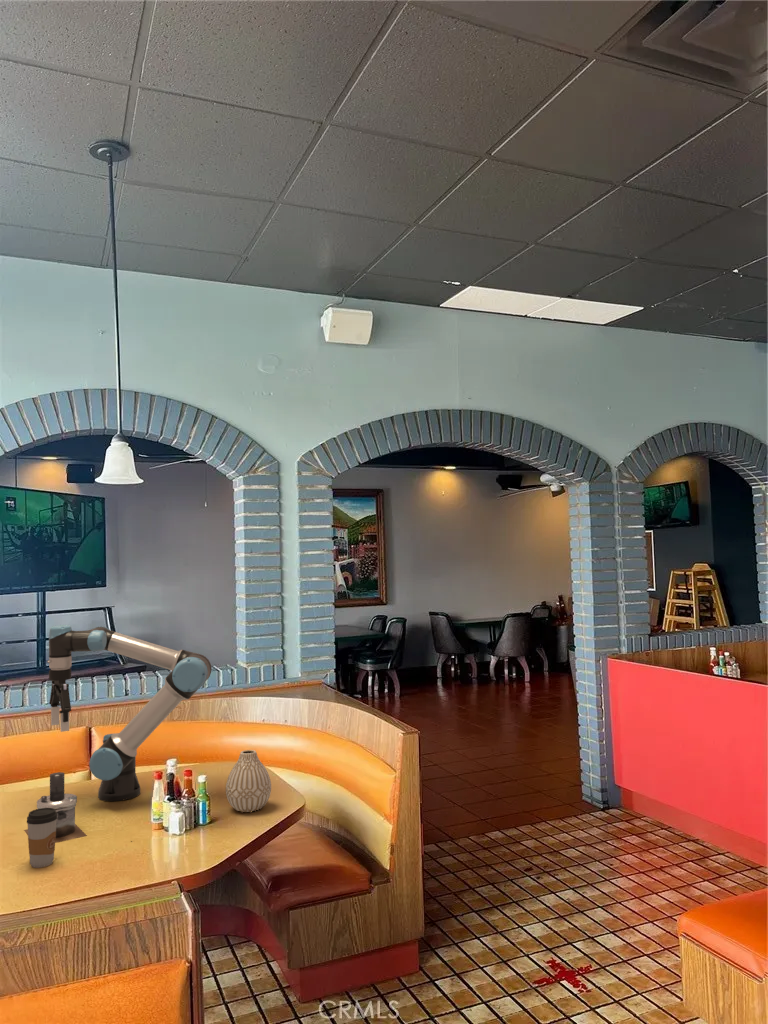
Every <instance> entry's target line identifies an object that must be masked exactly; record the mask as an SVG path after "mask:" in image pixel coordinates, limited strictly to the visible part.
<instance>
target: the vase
mask: <svg viewBox="0 0 768 1024" xmlns="http://www.w3.org/2000/svg"><path fill="white" fill-rule="evenodd" d="M239 753H240V754H239V756H238V760H237V761H236V763H235V764H234V765H233V767H232V768H231V771H230V773H229V774H228V777H227V779H226V780H227V781H226V783H225V795H226V799H227V801H228V803H229V805H230V806H231V807H232V808H233V809H234V810H235V811H237V812H238V811H241V812H240V813H243V812H250V813H252V812H251V811H255V812H257V811H256V810H258V811H260V810H261V809H262V808H263V807H264V806H265V805H266V804H267V803H268V802H269V799H270V798H271V797H270V796H271V793H272V781H271V778H270V774H269V771H268V770H267V768H266V767H265V765H264V764H263V763H262V761H261V760H260V758H259V756H258V753H257V751H256V750H255V749H245V750H241V751H240V752H239ZM259 809H260V810H259Z"/></svg>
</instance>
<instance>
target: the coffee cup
mask: <svg viewBox="0 0 768 1024" xmlns="http://www.w3.org/2000/svg"><path fill="white" fill-rule="evenodd" d="M56 821H57V813H56V810H55V809H54V808H40V809H33V810H31V811H29V812H28V816H27V817H26V824H27V829H28V835H27V840H28V841H27V843H28V854H29V864H30V866H31V867H32V868H33V869H34V868H36V869H37V868H39V869H40V868H45V867H48V866H50V865H52V864H53V863H54V862H53V861H54V858H55V849H56V843H55V839H56Z"/></svg>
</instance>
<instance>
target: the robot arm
mask: <svg viewBox="0 0 768 1024" xmlns="http://www.w3.org/2000/svg"><path fill="white" fill-rule="evenodd" d="M48 649H49V650H48V654H49V655H48V659H49V660H47V663H48V666H49V667H48V668H49V670H48V680H50V681H51V689H50V697H49V705H50V726H57V725H60V732H61V733H62V732H68V731H70V712H71V711H72V707H71V706H72V705H71V696H70V687H69V686H70V685H69V683H67V682H66V681H67V680H71V679H72V663H73V661H72V652H74V653H75V652H94V653H95V652H100V651H108V652H111V653H113V654H117V655H121V656H123V657H127V658H131V659H133V660H136V661H140V662H143V663H147V664H150V665H154V666H157V667H159V668H163V669H165V670H166V669H167V670H169V671H170V673H169V674H167V675H166V677H165V678H164V680H165V681H164V685H163V686H162V687H161V688H160V689H159V690H158V691H157V692H156V693H155V694H154V695H153V696H152V698H150V700H149V701H148V702H147V703H146V704H145V705H144V706H143V707H142V709H140V711H138V713H137V714H136V715H135V716H134V717H133V718H131V720H129V722H128V723H127V725H125V726H124V728H123V729H122V730H120V731H119V732H116V733H108V734H105V735H104V736H103V737H102V745H100V747H99V748H98V749H96V750H94V752H93V753H92V755H91V756H90V759H89V770H90V772H91V774H92V776H94V777H95V778H96V779H98V780H100V781H101V782H100V785H99V788H98V792H97V795H98V796H97V798H98V799H99V801H100V800H101V801H103V802H119V801H120V802H121V801H126V800H129V799H134V798H136V797H138V796H140V795H141V785H140V783H139V779H138V776H137V772H136V771H137V770H136V767H137V766H136V757H137V755H138V753H137V751H138V748H140V746H141V745H142V744H143V743H144V742H145V741H146V740H147V739H148V738H149V737H150V736H151V735H152V733H154V731H155V730H156V729H157V728H158V727H159V726H160V724H161V723H163V722H164V720H165V719H166V718H167V717H168V716H169V715H170V714H171V713H172V712H174V710H175V709H176V708H177V707H178V705H179V704H180V703H181V702H182V701H184V700H185V701H187V700H190V699H191V698H192V697H193V696H194V694H196V692H197V691H198V690H199V689H200V688H202V686H204V685H205V683H206V682H207V680H209V678H210V677H211V675H212V664H211V661H210V660H209V659H208V657H206V656H205V655H203V654H201V653H197V652H192V651H188V650H185V649H180V650H176V649H172V648H169V647H165V646H162V645H159V644H156V643H153V642H149V641H146V640H143V639H140V638H136V637H133V636H130V635H127V634H124V633H120V632H117V631H113V630H110V628H108V627H106V626H96V627H94V628H92V629H87V630H73V629H72V625H69V624H68V625H66V624H65V625H64V624H63V625H61V624H60V625H53V626H51V627H50V628H49V636H48Z"/></svg>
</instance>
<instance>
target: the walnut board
mask: <svg viewBox="0 0 768 1024" xmlns="http://www.w3.org/2000/svg"><path fill="white" fill-rule="evenodd" d="M23 831H24V833H26V835H27V836H28V828H27V829H23ZM87 836H88V834H87V833H85V832H84V831H83V830H82V828H80V827H79V825H77V824H76V823H75V831H74V832H73V833H72V834H70V835H67V836H64V837H60V838H56V839H55V844H56V843H61V842H65V841H71V840H74V839H75V840H76V839H80V838H85V837H87Z"/></svg>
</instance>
